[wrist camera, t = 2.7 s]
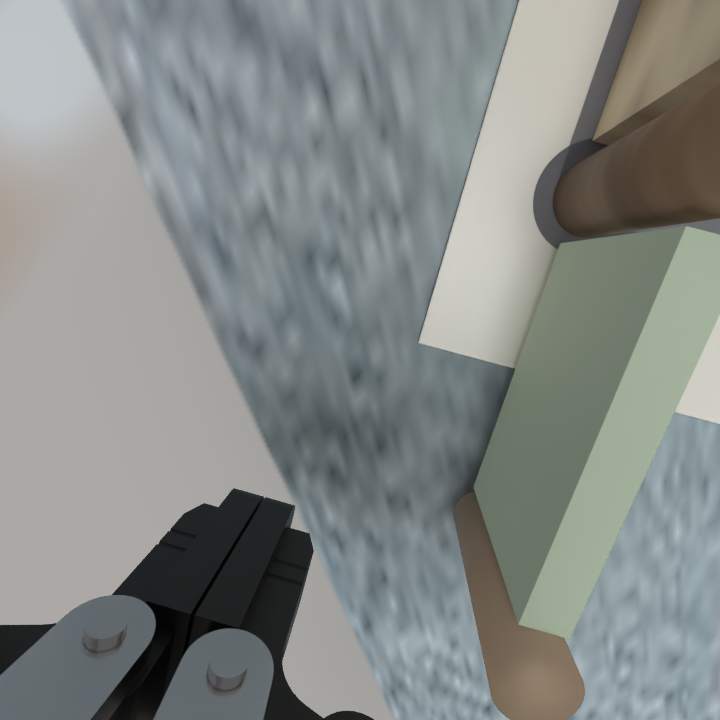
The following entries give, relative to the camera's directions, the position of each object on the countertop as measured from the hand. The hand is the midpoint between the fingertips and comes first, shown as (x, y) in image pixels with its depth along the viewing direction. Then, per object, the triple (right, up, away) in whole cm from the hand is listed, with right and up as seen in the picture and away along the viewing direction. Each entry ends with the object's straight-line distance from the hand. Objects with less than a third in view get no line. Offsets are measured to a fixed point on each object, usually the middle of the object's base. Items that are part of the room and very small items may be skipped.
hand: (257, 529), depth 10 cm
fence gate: (+8, +2, +5) cm, 10 cm away
